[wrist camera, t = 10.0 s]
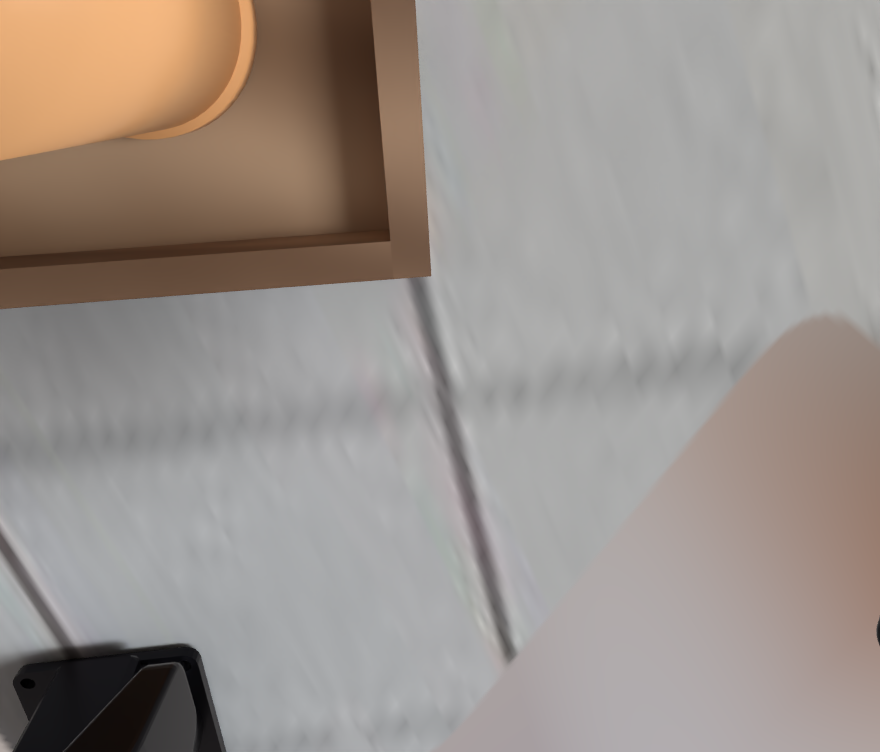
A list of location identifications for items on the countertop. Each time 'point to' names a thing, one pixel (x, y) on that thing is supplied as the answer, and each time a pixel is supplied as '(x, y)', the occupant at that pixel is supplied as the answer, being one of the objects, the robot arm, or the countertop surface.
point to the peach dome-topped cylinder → (118, 69)
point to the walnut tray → (242, 177)
